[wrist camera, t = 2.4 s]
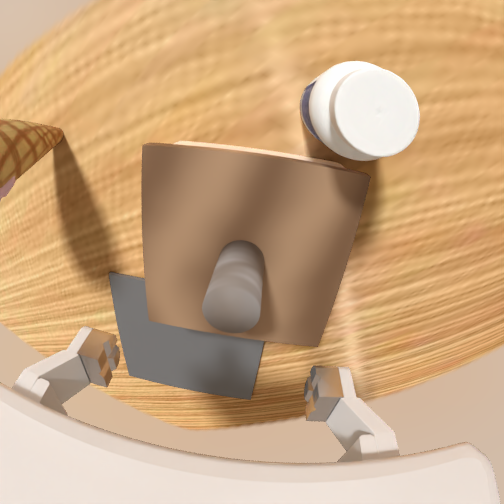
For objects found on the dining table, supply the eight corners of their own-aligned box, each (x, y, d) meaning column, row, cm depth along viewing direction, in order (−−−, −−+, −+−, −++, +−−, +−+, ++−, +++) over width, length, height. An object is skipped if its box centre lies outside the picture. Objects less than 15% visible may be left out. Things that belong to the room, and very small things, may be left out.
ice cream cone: (98, 134, 21) (-50, 192, 8) (65, 186, 23) (-56, 266, 10) (56, 91, 19) (-86, 119, 6) (27, 143, 21) (-94, 197, 8)
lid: (365, 172, 16) (404, 206, 11) (316, 337, 22) (323, 400, 17) (149, 142, 16) (96, 163, 11) (152, 312, 23) (125, 368, 17)
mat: (272, 299, 27) (272, 302, 27) (250, 397, 35) (250, 399, 34) (110, 271, 27) (108, 273, 27) (130, 373, 35) (129, 375, 34)
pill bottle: (338, 158, 21) (379, 198, 12) (283, 110, 20) (290, 112, 11) (384, 110, 19) (453, 119, 10) (331, 59, 17) (372, 28, 9)
